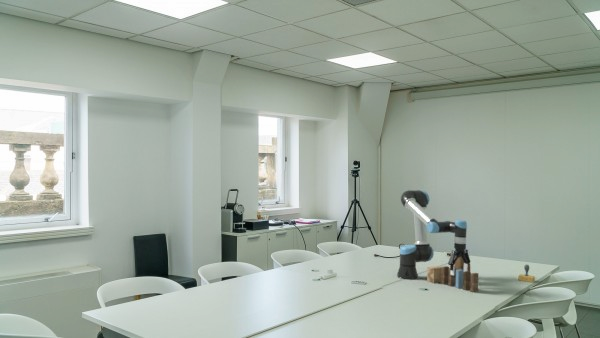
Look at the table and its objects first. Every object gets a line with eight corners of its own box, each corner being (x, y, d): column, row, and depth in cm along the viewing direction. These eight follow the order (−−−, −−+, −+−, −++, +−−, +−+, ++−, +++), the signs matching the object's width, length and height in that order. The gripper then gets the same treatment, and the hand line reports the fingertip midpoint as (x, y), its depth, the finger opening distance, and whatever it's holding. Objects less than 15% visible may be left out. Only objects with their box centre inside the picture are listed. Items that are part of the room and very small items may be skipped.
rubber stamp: (534, 281, 339) (535, 264, 339) (533, 282, 334) (533, 266, 335) (520, 279, 345) (520, 263, 345) (518, 280, 341) (518, 264, 341)
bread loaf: (460, 284, 324) (461, 255, 324) (452, 281, 331) (453, 253, 331) (471, 282, 329) (472, 254, 329) (463, 280, 336) (464, 253, 336)
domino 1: (441, 283, 324) (441, 266, 324) (446, 283, 326) (446, 266, 326) (444, 284, 322) (444, 267, 322) (448, 283, 324) (449, 266, 325)
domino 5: (470, 291, 303) (470, 273, 303) (475, 290, 306) (475, 272, 306) (473, 292, 302) (473, 274, 302) (478, 291, 304) (478, 273, 304)
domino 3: (455, 287, 313) (455, 270, 314) (460, 286, 316) (460, 269, 316) (458, 288, 312) (458, 270, 312) (463, 287, 314) (463, 270, 314)
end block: (427, 281, 330) (427, 267, 330) (438, 279, 337) (438, 265, 337) (433, 283, 325) (433, 269, 325) (445, 281, 332) (445, 267, 332)
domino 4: (462, 289, 308) (463, 271, 309) (467, 288, 311) (468, 271, 311) (465, 290, 307) (465, 272, 307) (470, 289, 309) (470, 271, 309)
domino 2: (448, 285, 319) (448, 268, 319) (453, 284, 321) (453, 267, 321) (450, 286, 317) (451, 269, 317) (455, 285, 319) (456, 268, 319)
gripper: (452, 245, 304) (451, 277, 305) (476, 242, 318) (475, 273, 318) (443, 243, 311) (442, 274, 311) (467, 241, 324) (466, 271, 324)
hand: (458, 274), depth 314 cm, fingers open, 13 cm apart
